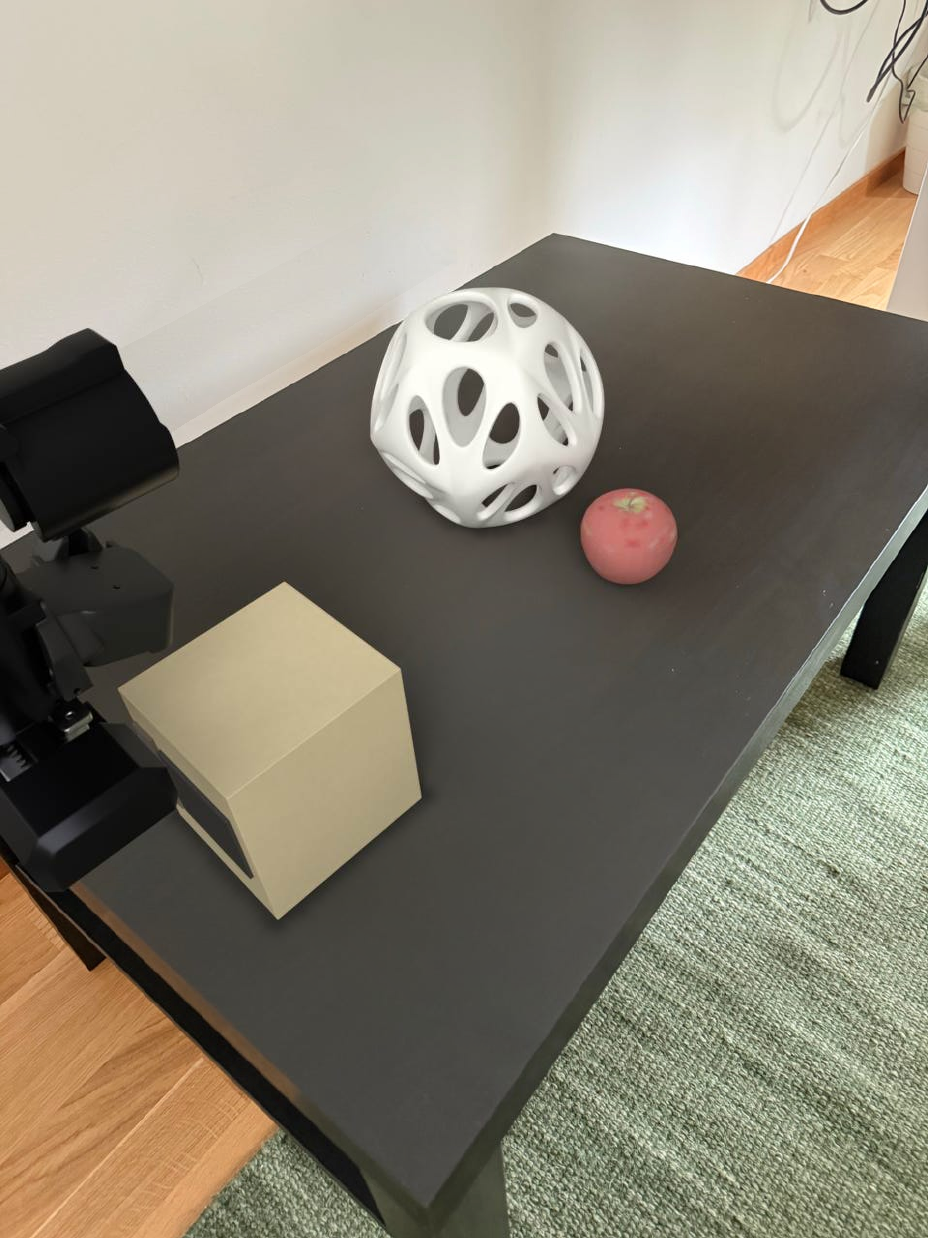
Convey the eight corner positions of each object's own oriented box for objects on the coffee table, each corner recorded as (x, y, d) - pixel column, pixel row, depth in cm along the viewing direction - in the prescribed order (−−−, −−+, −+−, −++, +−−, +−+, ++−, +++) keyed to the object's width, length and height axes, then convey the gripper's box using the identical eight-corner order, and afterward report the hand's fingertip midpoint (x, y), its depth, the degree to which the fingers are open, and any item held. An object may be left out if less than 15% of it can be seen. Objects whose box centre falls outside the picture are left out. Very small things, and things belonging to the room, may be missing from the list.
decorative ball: (384, 577, 78) (354, 394, 65) (377, 442, 92) (351, 271, 79) (621, 551, 78) (635, 365, 66) (578, 421, 92) (583, 247, 80)
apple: (628, 531, 80) (634, 454, 74) (689, 577, 75) (701, 498, 70) (560, 567, 77) (562, 490, 71) (619, 616, 73) (626, 538, 67)
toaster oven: (274, 923, 56) (222, 802, 47) (176, 817, 62) (112, 691, 53) (422, 797, 62) (401, 668, 53) (319, 711, 68) (284, 580, 59)
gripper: (239, 594, 35) (312, 822, 46) (16, 416, 45) (121, 639, 56) (-47, 775, 30) (113, 983, 41) (-228, 528, 39) (-59, 749, 51)
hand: (74, 814), depth 47 cm, fingers closed
